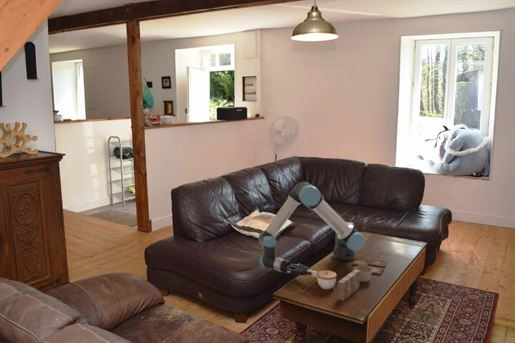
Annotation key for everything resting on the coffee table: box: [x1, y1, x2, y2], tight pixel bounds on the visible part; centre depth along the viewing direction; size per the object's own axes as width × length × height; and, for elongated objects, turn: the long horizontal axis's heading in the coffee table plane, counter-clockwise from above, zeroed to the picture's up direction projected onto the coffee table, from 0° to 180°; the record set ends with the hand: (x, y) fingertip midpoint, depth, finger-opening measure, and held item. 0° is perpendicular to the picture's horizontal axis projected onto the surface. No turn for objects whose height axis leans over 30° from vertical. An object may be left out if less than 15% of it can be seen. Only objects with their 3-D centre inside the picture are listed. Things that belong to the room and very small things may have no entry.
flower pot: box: [354, 265, 373, 283], centre depth 260 cm, size 10×10×7 cm
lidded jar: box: [316, 269, 337, 290], centre depth 252 cm, size 11×11×9 cm
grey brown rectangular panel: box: [337, 268, 361, 302], centre depth 244 cm, size 20×3×10 cm, turn 143°
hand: (317, 274), depth 255 cm, fingers closed
